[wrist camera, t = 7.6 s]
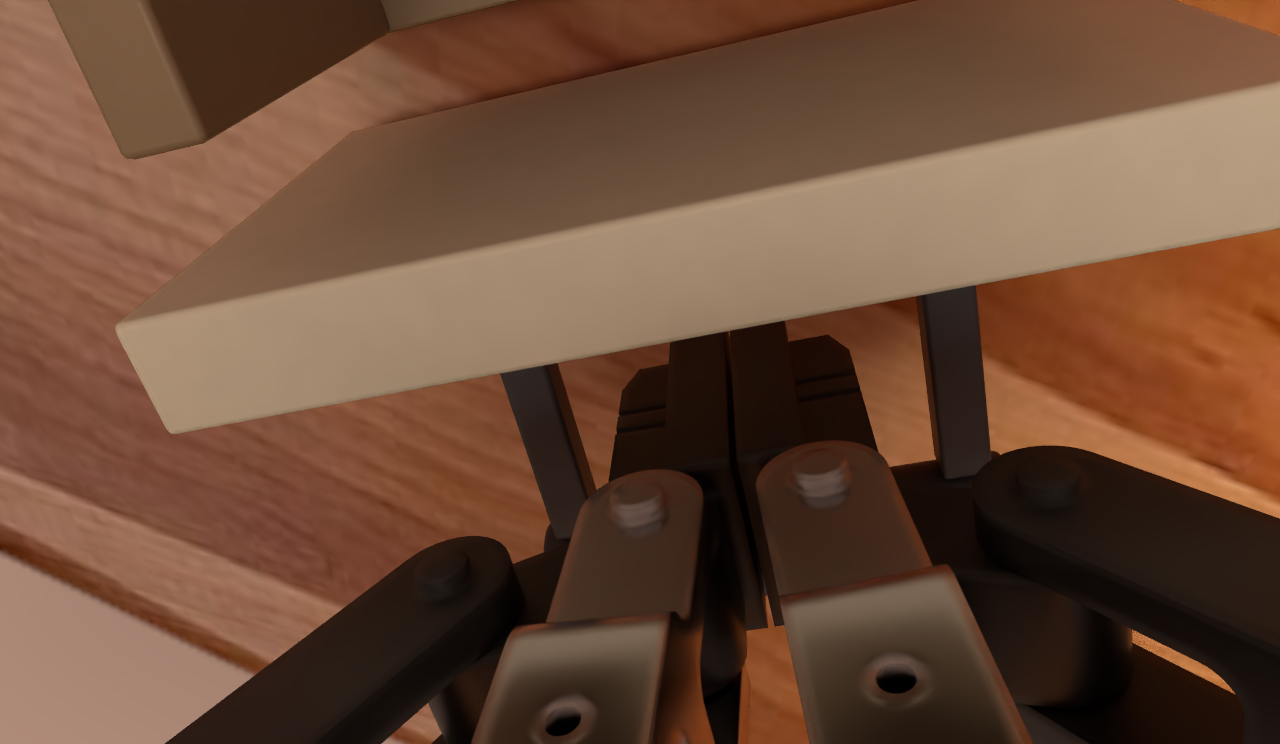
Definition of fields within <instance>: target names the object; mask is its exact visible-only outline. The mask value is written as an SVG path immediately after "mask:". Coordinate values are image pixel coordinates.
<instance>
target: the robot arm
mask: <svg viewBox="0 0 1280 744" xmlns="http://www.w3.org/2000/svg"><path fill="white" fill-rule="evenodd" d="M619 415H620V416H619V417H618V422H617V429H616V430H617V434H616V436H615V442H614V449H613V456H612V463H611V469H610V476H609V483H607V484H605V485H604V486H602V487H601V488H599V489H598V490H597V491H595V492H594V493H593V494H592V495H591V496H590V497H589V498H588V499H587V500H586V501H585V503H584V504H583V506H582V507H581V509H580V512H579V514H578V518H577V521H576V524H575V527H574V531H573V534H572V537H571V540H570V541H568V542H566V543H564V544H562V545H560V546H558V547H556V548H554V549H551V550H549V551H546V552H544V553H541V554H538V555H536V556H533V557H530V558H528V559H525V560H522V561H520V562H517V563H514V564H513V563H512V561H511V558H510V555H509V553H508V551H507V549H506V547H505V546H503V545H502V544H501V543H500V542H498V541H496V540H494V539H491V538H488V537H482V536H466V537H458V538H454V539H450V540H446V541H443V542H440V543H437V544H435V545H433V546H430V547H428V548H426V549H424V550H422V551H421V552H419V553H417V554H415V555H414V556H413V557H411V558H410V559H408V560H407V561H405V562H404V563H403V564H402V565H400V566H399V567H398V568H396V569H395V570H394V571H392V572H391V573H390V574H388V575H387V576H386V577H384V578H383V579H382V580H380V581H379V582H378V583H376V584H375V585H374V586H372V587H371V588H370V589H368V590H367V591H366V592H365V593H363V594H362V595H361V596H359V597H358V598H357V599H355V600H354V601H353V602H351V603H350V604H349V605H347V606H346V607H345V608H343V609H342V610H341V611H339V612H338V613H337V614H335V615H334V616H333V617H331V618H330V619H329V620H328V621H326V622H325V623H324V624H322V625H321V626H320V627H318V628H317V629H316V630H314V631H313V632H312V633H310V634H309V635H308V636H306V637H305V638H304V639H302V640H301V641H300V642H298V643H297V644H296V645H294V646H293V647H292V648H291V649H289V650H288V651H287V652H285V653H284V654H283V655H281V656H280V657H279V658H277V659H276V660H275V661H273V662H272V663H271V664H269V665H268V666H267V667H265V668H264V669H263V670H261V671H260V672H259V673H257V674H256V675H255V676H254V677H252V678H251V679H250V680H248V681H247V682H246V683H244V684H243V685H242V686H241V687H239V688H238V689H236V690H235V691H234V692H232V693H231V694H230V695H228V696H227V697H226V698H225V699H223V700H222V701H221V702H219V703H218V704H217V705H215V706H214V707H213V708H211V709H210V710H209V711H207V712H206V713H205V714H203V715H202V716H201V717H199V718H198V719H197V720H195V721H194V722H193V723H191V724H190V725H189V726H187V727H186V728H185V729H184V730H182V731H181V732H180V733H178V734H177V735H176V736H174V737H173V738H172V739H170V740H169V741H168V742H166V743H165V744H381V743H383V742H384V741H385V740H386V739H387V738H388V737H389V736H390V735H392V734H393V733H394V732H395V731H396V730H397V729H398V728H400V727H401V726H402V725H403V724H404V723H405V722H406V721H408V720H409V719H410V718H411V717H412V716H413V715H414V714H415V713H417V712H418V711H419V710H420V709H421V708H422V707H423V706H425V705H426V704H427V703H428V704H429V706H430V708H431V710H432V712H433V715H434V717H435V719H436V721H437V723H438V726H439V728H440V730H441V732H442V734H441V735H440V736H439V737H438V738H437V739H436V740H435V741H434V742H433V743H432V744H748V731H749V708H750V680H749V676H748V672H747V668H746V664H745V660H746V657H747V635H746V631H747V630H754V629H762V628H768V622H767V610H766V598H765V586H766V590H767V595H768V599H769V603H770V608H771V612H772V617H773V621H774V625H775V626H781V625H785V629H786V634H787V638H788V643H789V648H790V652H791V657H792V662H793V667H794V671H795V676H796V681H797V685H798V690H799V695H800V700H801V704H802V709H803V714H804V718H805V723H806V728H807V732H808V737H809V742H810V744H1280V519H1279V518H1276V517H1273V516H1271V515H1268V514H1265V513H1262V512H1259V511H1257V510H1254V509H1251V508H1248V507H1245V506H1242V505H1240V504H1237V503H1234V502H1231V501H1228V500H1226V499H1223V498H1220V497H1217V496H1214V495H1211V494H1209V493H1206V492H1203V491H1200V490H1197V489H1195V488H1192V487H1189V486H1186V485H1183V484H1180V483H1178V482H1175V481H1172V480H1169V479H1166V478H1163V477H1161V476H1158V475H1155V474H1152V473H1149V472H1147V471H1144V470H1141V469H1138V468H1135V467H1132V466H1130V465H1127V464H1124V463H1121V462H1118V461H1116V460H1113V459H1110V458H1107V457H1104V456H1101V455H1099V454H1096V453H1093V452H1090V451H1086V450H1083V449H1078V448H1073V447H1066V446H1034V447H1027V448H1022V449H1017V450H1014V451H1010V452H1007V453H1004V454H1002V455H1000V456H997V457H996V458H994V459H992V460H991V461H989V462H987V463H986V464H985V465H984V466H983V467H981V468H980V470H979V471H978V472H977V474H976V475H975V477H974V479H973V482H972V489H966V488H946V487H935V486H929V485H924V484H920V483H917V482H913V481H910V480H908V479H906V478H903V477H901V476H899V475H898V474H896V473H894V472H893V471H892V470H890V468H889V465H888V463H887V462H886V460H885V459H884V457H883V456H882V455H881V454H880V453H879V452H878V449H877V446H876V442H875V439H874V435H873V432H872V428H871V425H870V421H869V418H868V414H867V411H866V407H865V404H864V400H863V397H862V393H861V391H860V386H859V383H858V379H857V376H856V373H855V369H854V365H853V362H852V358H851V355H850V351H849V349H847V348H846V347H845V346H843V345H842V344H840V343H839V342H838V341H836V340H835V339H833V338H832V337H831V336H829V335H824V336H818V337H813V338H807V339H802V340H797V341H791V342H789V340H788V335H787V329H786V324H785V321H780V322H774V323H769V324H763V325H758V326H753V327H747V328H742V329H737V330H731V331H730V336H729V332H728V331H726V332H720V333H715V334H710V335H704V336H699V337H694V338H688V339H683V340H677V341H672V342H670V356H669V364H667V365H662V366H656V367H651V368H645V369H640V370H639V371H638V372H637V374H636V375H635V376H634V377H633V378H632V380H631V381H630V382H629V383H628V385H627V386H626V387H625V388H624V389H623V391H622V396H621V402H620V409H619ZM764 581H765V585H764ZM1132 629H1133V630H1135V631H1137V632H1139V633H1141V634H1143V635H1145V636H1147V637H1149V638H1151V639H1153V640H1155V641H1157V642H1159V643H1161V644H1163V645H1165V646H1167V647H1169V648H1171V649H1173V650H1175V651H1177V652H1179V653H1182V654H1184V655H1186V656H1188V657H1190V658H1192V659H1194V660H1196V661H1198V662H1200V663H1201V664H1203V665H1205V666H1207V667H1208V668H1210V669H1211V670H1213V671H1214V672H1215V673H1216V674H1218V675H1219V676H1220V677H1221V678H1222V679H1223V680H1224V681H1225V682H1226V683H1227V684H1228V685H1229V686H1230V687H1231V689H1232V690H1233V691H1234V692H1235V694H1236V695H1235V694H1233V693H1231V692H1229V691H1227V690H1225V689H1223V688H1221V687H1219V686H1217V685H1215V684H1213V683H1211V682H1209V681H1207V680H1205V679H1203V678H1201V677H1199V676H1197V675H1195V674H1193V673H1191V672H1189V671H1187V670H1185V669H1183V668H1181V667H1179V666H1177V665H1175V664H1173V663H1171V662H1169V661H1167V660H1165V659H1163V658H1161V657H1159V656H1158V655H1156V654H1154V653H1152V652H1150V651H1148V650H1146V649H1144V648H1142V647H1140V646H1138V645H1136V644H1134V643H1132Z"/></svg>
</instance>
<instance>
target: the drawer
mask: <svg viewBox="0 0 1280 744" xmlns="http://www.w3.org/2000/svg"><path fill="white" fill-rule="evenodd" d="M48 1H49V3H50V6H51V8H52V10H53V12H54V14H55V16H56V18H57V20H58V22H59V24H60V26H61V28H62V31H63V33H64V35H65V37H66V39H67V41H68V43H69V45H70V47H71V49H72V51H73V54H74V56H75V58H76V60H77V62H78V64H79V66H80V68H81V70H82V72H83V74H84V76H85V79H86V81H87V83H88V85H89V87H90V89H91V91H92V93H93V95H94V97H95V99H96V102H97V104H98V106H99V108H100V110H101V112H102V114H103V116H104V118H105V120H106V122H107V124H108V127H109V129H110V131H111V133H112V135H113V137H114V139H115V141H116V143H117V145H118V147H119V150H120V152H121V154H122V155H123V156H124V157H125V158H128V159H139V158H143V157H147V156H152V155H156V154H160V153H164V152H168V151H173V150H177V149H181V148H185V147H190V146H194V145H198V144H202V143H205V142H206V141H208V140H210V139H211V138H213V137H215V136H216V135H218V134H220V133H221V132H223V131H225V130H226V129H228V128H230V127H231V126H233V125H235V124H236V123H238V122H240V121H241V120H243V119H245V118H246V117H248V116H250V115H251V114H253V113H255V112H256V111H258V110H260V109H261V108H263V107H265V106H266V105H268V104H270V103H272V102H273V101H275V100H277V99H278V98H280V97H282V96H283V95H285V94H287V93H288V92H290V91H292V90H293V89H295V88H297V87H298V86H300V85H302V84H303V83H305V82H307V81H308V80H310V79H312V78H313V77H315V76H317V75H318V74H320V73H322V72H323V71H325V70H327V69H328V68H330V67H332V66H333V65H335V64H337V63H338V62H340V61H342V60H343V59H345V58H347V57H348V56H350V55H352V54H354V53H355V52H357V51H359V50H360V49H362V48H364V47H365V46H367V45H369V44H370V43H372V42H374V41H375V40H377V39H379V38H380V37H382V36H384V35H385V34H386V33H390V32H394V31H398V30H402V29H406V28H410V27H414V26H418V25H422V24H426V23H430V22H434V21H438V20H442V19H446V18H450V17H454V16H458V15H462V14H466V13H470V12H474V11H478V10H482V9H486V8H490V7H494V6H498V5H502V4H506V3H511V2H515V1H519V0H48ZM1279 228H1280V36H1279V35H1276V34H1273V33H1270V32H1267V31H1264V30H1261V29H1258V28H1255V27H1252V26H1249V25H1246V24H1243V23H1240V22H1238V21H1235V20H1232V19H1229V18H1226V17H1223V16H1220V15H1217V14H1214V13H1211V12H1208V11H1205V10H1202V9H1199V8H1196V7H1193V6H1190V5H1187V4H1184V3H1181V2H1178V1H1175V0H918V1H913V2H909V3H905V4H900V5H896V6H892V7H887V8H883V9H879V10H874V11H870V12H866V13H862V14H857V15H853V16H849V17H844V18H840V19H836V20H831V21H827V22H823V23H819V24H814V25H810V26H806V27H801V28H797V29H793V30H788V31H784V32H780V33H776V34H771V35H767V36H763V37H758V38H754V39H750V40H745V41H741V42H737V43H733V44H728V45H724V46H720V47H715V48H711V49H707V50H702V51H698V52H694V53H689V54H685V55H681V56H677V57H672V58H668V59H664V60H659V61H655V62H651V63H646V64H642V65H638V66H634V67H629V68H625V69H621V70H616V71H612V72H608V73H603V74H599V75H595V76H591V77H586V78H582V79H578V80H573V81H569V82H565V83H560V84H556V85H552V86H548V87H543V88H539V89H535V90H530V91H526V92H522V93H517V94H513V95H509V96H504V97H500V98H496V99H492V100H487V101H483V102H479V103H474V104H470V105H466V106H461V107H457V108H453V109H449V110H444V111H440V112H436V113H431V114H427V115H423V116H418V117H414V118H410V119H406V120H401V121H397V122H393V123H388V124H384V125H380V126H375V127H371V128H367V129H363V130H358V131H354V132H352V133H350V134H349V135H348V136H347V137H345V138H344V139H343V140H342V141H340V142H339V143H338V144H337V145H336V146H334V147H333V148H332V149H331V150H329V151H328V152H327V153H326V154H325V155H323V156H322V157H321V158H320V159H318V160H317V161H316V162H315V163H313V164H312V165H311V166H310V167H309V168H307V169H306V170H305V171H304V172H302V173H301V174H300V175H299V176H298V177H296V178H295V179H294V180H293V181H291V182H290V183H289V184H288V185H287V186H285V187H284V188H283V189H282V190H280V191H279V192H278V193H277V194H276V195H274V196H273V197H272V198H271V199H269V200H268V201H267V202H266V203H265V204H263V205H262V206H261V207H260V208H258V209H257V210H256V211H255V212H253V213H252V214H251V215H250V216H249V217H247V218H246V219H245V220H244V221H242V222H241V223H240V224H239V225H238V226H236V227H235V228H234V229H233V230H231V231H230V232H229V233H228V234H227V235H225V236H224V237H223V238H222V239H220V240H219V241H218V242H217V243H216V244H214V245H213V246H212V247H211V248H209V249H208V250H207V251H206V252H204V253H203V254H202V255H201V256H200V257H198V258H197V259H196V260H195V261H193V262H192V263H191V264H190V265H189V266H187V267H186V268H185V269H184V270H182V271H181V272H180V273H179V274H178V275H176V276H175V277H174V278H173V279H171V280H170V281H169V282H168V283H167V284H165V285H164V286H163V287H162V288H160V289H159V290H158V291H157V292H156V293H154V294H153V295H152V296H151V297H149V298H148V299H147V300H146V301H144V302H143V303H142V304H141V305H140V306H138V307H137V308H136V309H135V310H133V311H132V312H131V313H130V314H129V315H127V316H126V317H125V318H124V319H122V320H121V321H120V322H119V323H118V324H116V327H115V330H116V334H117V336H118V338H119V340H120V342H121V344H122V346H123V347H124V349H125V351H126V353H127V355H128V357H129V359H130V361H131V363H132V365H133V367H134V368H135V370H136V372H137V374H138V376H139V378H140V380H141V382H142V384H143V386H144V387H145V389H146V391H147V393H148V395H149V397H150V399H151V401H152V403H153V405H154V406H155V408H156V410H157V412H158V414H159V416H160V418H161V420H162V422H163V424H164V426H165V427H166V429H167V430H168V431H169V432H170V433H172V434H178V433H183V432H188V431H194V430H199V429H205V428H210V427H215V426H221V425H226V424H231V423H237V422H242V421H248V420H253V419H258V418H264V417H269V416H274V415H280V414H285V413H291V412H296V411H301V410H307V409H312V408H317V407H323V406H328V405H334V404H339V403H344V402H350V401H355V400H360V399H366V398H371V397H377V396H382V395H387V394H393V393H398V392H403V391H409V390H414V389H420V388H425V387H430V386H436V385H441V384H446V383H452V382H457V381H462V380H468V379H473V378H479V377H484V376H489V375H495V374H500V375H501V378H502V381H503V384H504V387H505V389H506V392H507V395H508V398H509V401H510V404H511V407H512V410H513V413H514V416H515V419H516V422H517V425H518V428H519V431H520V434H521V437H522V440H523V443H524V446H525V449H526V452H527V455H528V457H529V460H530V463H531V466H532V469H533V472H534V475H535V478H536V481H537V484H538V487H539V490H540V493H541V496H542V499H543V502H544V505H545V508H546V511H547V514H548V517H549V520H550V522H551V523H550V524H549V526H548V528H547V531H546V535H545V542H544V552H546V551H549V550H551V549H554V548H556V547H558V546H560V545H562V544H564V543H566V542H568V541H570V540H571V537H572V534H573V531H574V527H575V524H576V521H577V518H578V514H579V512H580V509H581V507H582V506H583V504H584V503H585V501H586V500H587V499H588V498H589V497H590V496H591V495H592V494H593V493H594V492H595V491H597V490H596V487H595V484H594V480H593V477H592V474H591V471H590V467H589V464H588V461H587V458H586V454H585V451H584V448H583V445H582V441H581V438H580V435H579V432H578V428H577V425H576V422H575V419H574V415H573V412H572V409H571V406H570V402H569V399H568V396H567V393H566V389H565V386H564V383H563V380H562V376H561V373H560V370H559V366H558V363H559V362H565V361H570V360H575V359H581V358H586V357H591V356H597V355H602V354H608V353H613V352H618V351H624V350H629V349H634V348H640V347H645V346H651V345H656V344H661V343H667V342H672V341H677V340H683V339H688V338H694V337H699V336H704V335H710V334H715V333H720V332H726V331H731V330H737V329H742V328H747V327H753V326H758V325H763V324H769V323H774V322H780V321H785V320H790V319H796V318H801V317H806V316H812V315H817V314H823V313H828V312H833V311H839V310H844V309H849V308H855V307H860V306H866V305H871V304H876V303H882V302H887V301H892V300H898V299H903V298H909V297H914V296H916V303H917V311H918V319H919V328H920V336H921V345H922V353H923V361H924V370H925V378H926V386H927V395H928V403H929V412H930V420H931V428H932V437H933V445H934V453H935V457H936V460H931V461H925V462H918V463H912V464H906V465H900V466H893V467H889V468H890V470H892V471H893V472H894V473H896V474H898V475H899V476H901V477H903V478H906V479H908V480H910V481H913V482H917V483H920V484H924V485H929V486H935V487H946V488H966V489H972V482H973V479H974V477H975V475H976V474H977V472H978V471H979V470H980V468H981V467H983V466H984V465H985V464H986V463H987V462H989V461H991V460H992V459H994V458H996V457H997V456H1000V454H999V453H998V452H996V451H991V450H990V438H989V427H988V416H987V405H986V393H985V382H984V371H983V360H982V349H981V337H980V326H979V315H978V304H977V292H976V285H978V284H984V283H989V282H995V281H1000V280H1005V279H1011V278H1016V277H1021V276H1027V275H1032V274H1038V273H1043V272H1048V271H1054V270H1059V269H1064V268H1070V267H1075V266H1081V265H1086V264H1091V263H1097V262H1102V261H1107V260H1113V259H1118V258H1124V257H1129V256H1134V255H1140V254H1145V253H1150V252H1156V251H1161V250H1167V249H1172V248H1177V247H1183V246H1188V245H1193V244H1199V243H1204V242H1210V241H1215V240H1220V239H1226V238H1231V237H1236V236H1242V235H1247V234H1253V233H1258V232H1263V231H1269V230H1274V229H1279ZM764 585H765V581H764ZM765 595H767V590H766V586H765Z"/></svg>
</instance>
